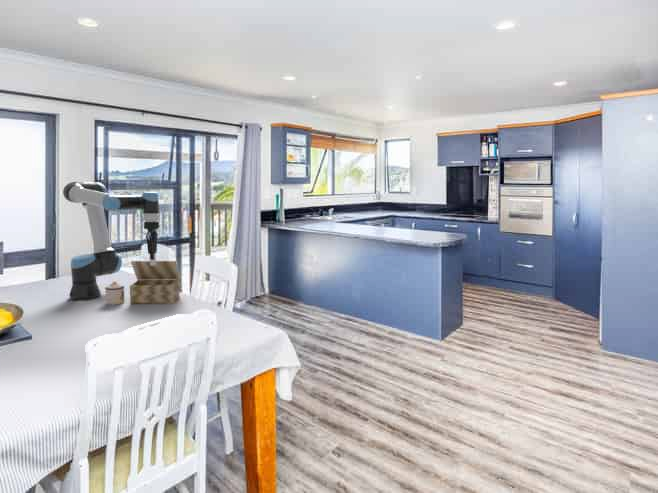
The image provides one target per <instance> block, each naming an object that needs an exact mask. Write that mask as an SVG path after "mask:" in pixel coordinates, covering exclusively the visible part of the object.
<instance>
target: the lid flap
mask: <svg viewBox="0 0 658 493" xmlns="http://www.w3.org/2000/svg"><path fill="white" fill-rule="evenodd" d="M130 264H131V265H132V269H133V272H134V275H135V277H136V281H137V280H181V275H180V272H179V268H178V264H177V261H176V260H156V265H155V266H150V260H131V261H130Z"/></svg>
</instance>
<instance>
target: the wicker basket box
mask: <svg viewBox="0 0 658 493" xmlns="http://www.w3.org/2000/svg"><path fill="white" fill-rule="evenodd" d="M179 298H180V279H164V280H137V279H136V281H135V282H132V283H131V284H130V285H129V299H130V305H149V304H151V305H157V304H160V305H161V303H162V305H163V304H164V303H165V305H167V304H169V305H170V303H171V304H175V303H176V302H177V300H179Z"/></svg>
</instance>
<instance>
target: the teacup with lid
mask: <svg viewBox="0 0 658 493" xmlns="http://www.w3.org/2000/svg"><path fill="white" fill-rule="evenodd" d="M104 289H105V297H106V304H107V305H108V306H109V305H111V306H113V305H114V306H115V305H116V306H117V305H121V304H124V303H125V285H124V284H121V283H119V282H117V281H116V280H114V281H112V282H111V283H110V284H108V285H106V286H105V287H104Z"/></svg>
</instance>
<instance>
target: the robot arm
mask: <svg viewBox="0 0 658 493" xmlns="http://www.w3.org/2000/svg"><path fill="white" fill-rule="evenodd" d="M62 196H64V199H66V200H67V202H68V201H69V202H70V203H75V204H81V203H82V204H81V205H82V208H84V209H86V214H87V219H88V223H89V227H90V233H91V237H92V242H93V246H94V247H93V248H94V251H93V252H92V253H86V254H80V255H77V256H73V258H71V260H70V269H71V282H72V283H71V289H70V292H69V294H68V295H69V300H72V301H88V300H93V299H94V300H95V299H98V298H100V297H102V294H101V289H100V287H99V285H98V282H97V277H102V276H107V275H113V274H117V272H119V271H120V270H121V268H122V264H123V262H122V256H121V255H120V254H119V253H118V252H116V250H115V248H113V247H112V244H111V238H110V234H109V229H108V224H107V220H106V215H105V211H104V209H105V210H106V211H111V212H115V211H129V210H130V211H131V210H132V211H133V210H141V211H142V213H143V214H142V215H143V216H142V217H143V229H144V230H147V232H146V235H145V239H146V245H147V254H148V255H149V261H150V266H155V265H156V261H157V253H158V251H157V250H158V233H157V230H158V229H160V222H159V221H160V214H159V212H160V211H159V205H160V204H159V194H158V192H157V191H143V192H142V195H137V194H131V195H129V194H128V195H116V194H111V193H109V192H108V189H107V187H106V186H105V185H104V184H103V183H101V182H95V181H72V182H69V183H67V184H66V185H64V187H63V190H62Z"/></svg>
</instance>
